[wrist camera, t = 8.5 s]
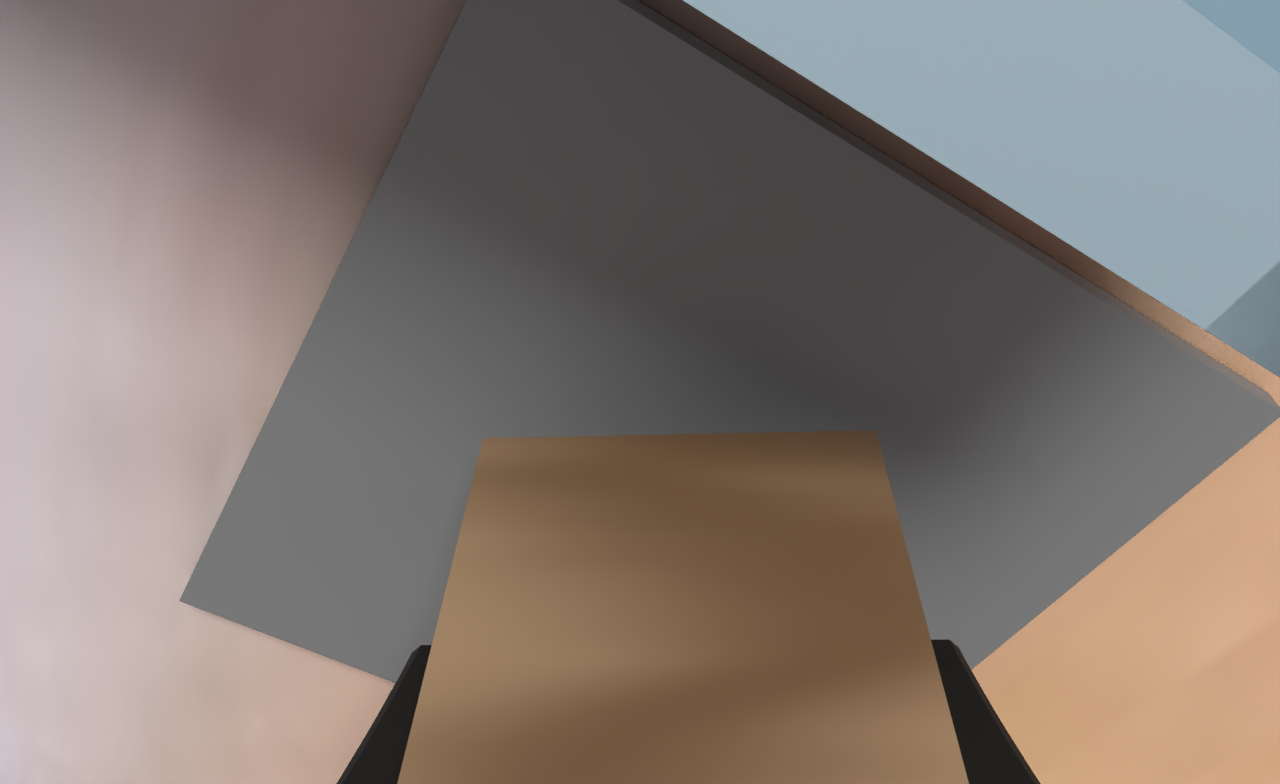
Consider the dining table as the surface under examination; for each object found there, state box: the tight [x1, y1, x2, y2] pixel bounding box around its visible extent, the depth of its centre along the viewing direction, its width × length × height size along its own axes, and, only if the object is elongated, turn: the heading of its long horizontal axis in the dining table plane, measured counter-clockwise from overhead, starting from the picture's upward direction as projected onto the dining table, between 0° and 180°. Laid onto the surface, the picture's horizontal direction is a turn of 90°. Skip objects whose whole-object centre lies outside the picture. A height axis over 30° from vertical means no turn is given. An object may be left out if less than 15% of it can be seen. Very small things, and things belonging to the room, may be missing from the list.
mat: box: [180, 0, 1280, 683], centre depth 13 cm, size 10×10×1 cm
